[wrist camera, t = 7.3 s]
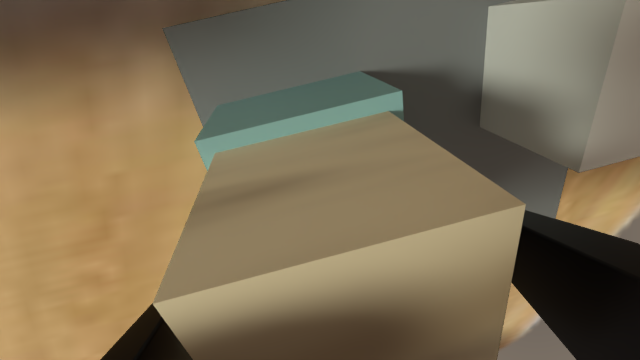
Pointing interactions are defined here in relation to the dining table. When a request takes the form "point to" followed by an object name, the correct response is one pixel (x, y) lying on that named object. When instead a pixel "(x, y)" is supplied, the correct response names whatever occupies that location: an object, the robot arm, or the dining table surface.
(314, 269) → the oak cube
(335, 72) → the charcoal mat
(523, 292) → the robot arm
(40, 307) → the dining table surface
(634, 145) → the grey cube
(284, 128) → the teal block
